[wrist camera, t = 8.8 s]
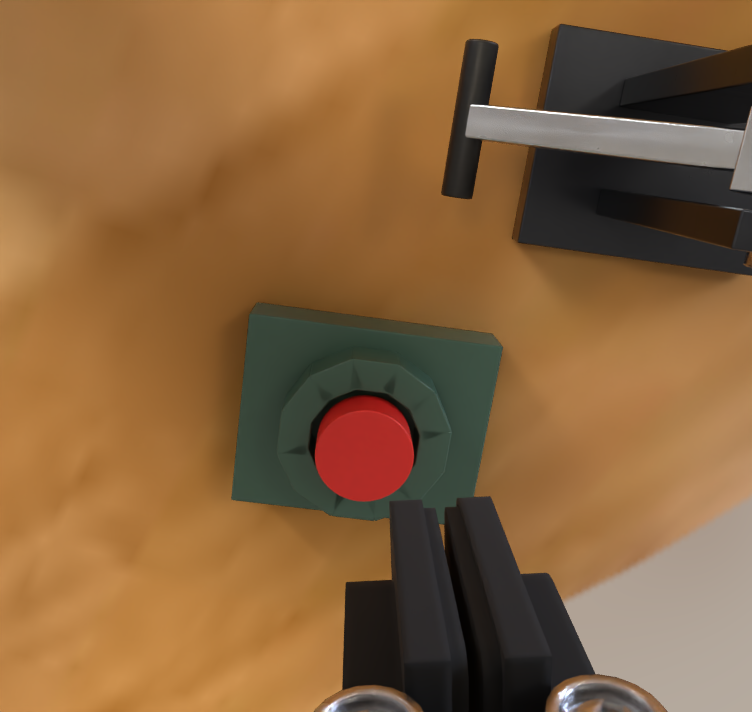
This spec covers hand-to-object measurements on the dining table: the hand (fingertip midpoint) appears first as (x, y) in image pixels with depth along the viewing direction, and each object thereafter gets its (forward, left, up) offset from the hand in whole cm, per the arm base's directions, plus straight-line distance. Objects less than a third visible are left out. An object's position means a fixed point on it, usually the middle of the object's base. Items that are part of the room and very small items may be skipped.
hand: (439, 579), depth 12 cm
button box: (-1, -4, -19) cm, 20 cm away
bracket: (+9, +8, -19) cm, 23 cm away
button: (-1, -4, -15) cm, 16 cm away
